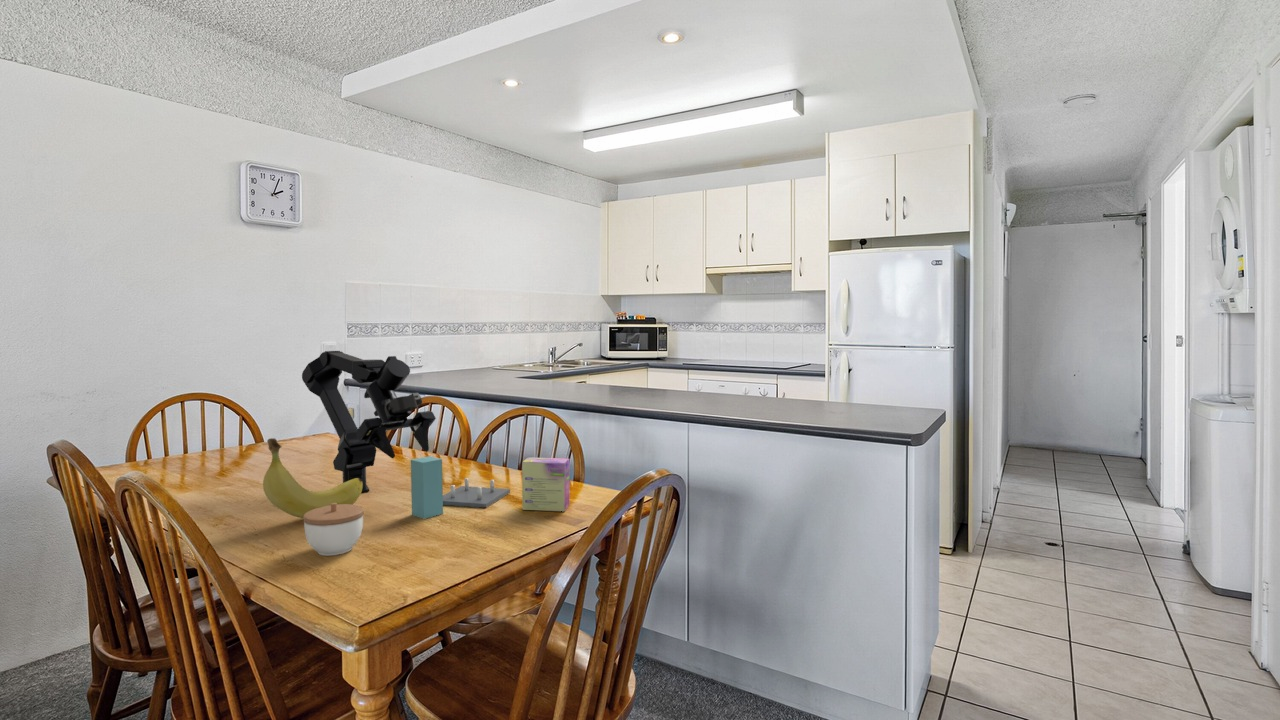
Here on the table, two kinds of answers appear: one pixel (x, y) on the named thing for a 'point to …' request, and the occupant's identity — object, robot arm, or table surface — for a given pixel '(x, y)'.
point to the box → (545, 484)
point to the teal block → (426, 487)
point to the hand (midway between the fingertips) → (411, 454)
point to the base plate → (474, 495)
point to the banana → (302, 489)
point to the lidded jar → (333, 528)
